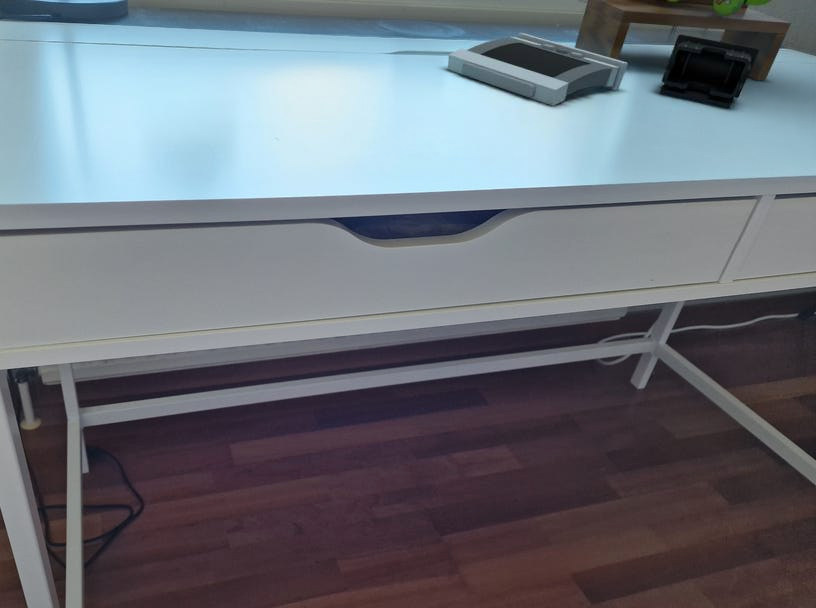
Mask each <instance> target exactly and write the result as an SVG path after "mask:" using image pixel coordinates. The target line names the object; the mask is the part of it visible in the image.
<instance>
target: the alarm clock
mask: <svg viewBox="0 0 816 608" xmlns="http://www.w3.org/2000/svg"><path fill="white" fill-rule="evenodd" d="M628 64H629V63H628V61H627V62H626V61H623V60H620V59H618V60H616V59H613V58H609V57H605V56H602V55H598V54H595V53H591V52H588V51H584V50H581V49H577V48H575V46H570V45H566V44H562V43H559V42H556V41H552V40H548V39H545V38H541V37H537V36H534V35H531V34H528V33H524V32H517V35H516V36H509V37H508V38H498V39H493V40H489V41H486V42H483V43H480V44H477V45H474V46H473V47H470V48H468V49H464V48H460V49H458V50H456V51H453V52H451V53H449V54H448V61H447V70H449V71H451V72H454V73H457V74H460V75H463V76H466V77H469V78H471V79H474V80H477V81H480V82H483V83H486V84H489V85H490V86H491V85H492V86H494V87H497V88H500V89H503V90H506V91H508V92H512V93H514V94H518V95H520V96H523V97H526V98H529V99H532V100H534V101H537V102H541V103H543V104H547V105H549V106H552V107H553V106H555V105H558V104H560V103H562V102H564V101H565V100H566V96H568V95H570V94H573V93H574V92H577V91H580V90H582V89H585V88H591V87H596V86H600V87H603V88H607V89H609V90H613V91H619V89H620V86H621V84H622V81H623V78H624V75H625V72H626V70H627V67H628Z"/></svg>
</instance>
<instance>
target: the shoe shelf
mask: <svg viewBox="0 0 816 608" xmlns="http://www.w3.org/2000/svg"><path fill="white" fill-rule="evenodd" d="M631 24H640V25H653V26H654V25H655V26H668V27H682V28H696V29H697V28H698V29H709V30H722V31H724V32H723V33H722V36H721V38H720V41H719V42H725V43H730V44H735V45H741V46H746V47H752V48H757V49H759V53H758V55H757V57H756V59H755V62H754V64H753V66H752V68H751V71H750V73H749V75H748V78H751V79H754V80H755V81H766V80H767V78H768V75H769V74H770V71H771V69H772V67H773V64H774V62H775V61H776V58H777V55H778V53H779V52H780V49H781V47H782V45H783V42H784V40H785V38H786V36H787V34H788V32H789V29H790V28H791V25H792V23H791V22H790V21H787V20H783V19H781V18H778V17H775V16H772V15H769V14H766V13H763V12H761V11H757V10H755V9H752V8H749V5H746V4H745V3H744V2H743V4H742V6H741V7H740V9H739V10H737V11H736V12H735V13H733V14H730V15H720V14H718V13H717V12H716V11H715V10H714V7H713V0H679V1H675V2H671V1H668V0H587V2H586V6H585V9H584V13H583V17H582V20H581V24H580V27H579V31H578V34H577V37H576V41H575V44H574V45H575V46H574V48H577V49H581V50H584V51H588V52H591V53H595V54H598V55H602V56H605V57H609V58H613V59H616V60H620V56H621V53H622V49H623V46H624V44H625V40H626V37H627V34H628V32H629V28H630V25H631Z"/></svg>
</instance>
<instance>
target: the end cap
mask: <svg viewBox="0 0 816 608" xmlns="http://www.w3.org/2000/svg"><path fill="white" fill-rule="evenodd" d="M758 53H759V49H757V48H752V47H746V46H741V45H735V44H730V43H725V42H720V41H719V40H714V39H708V38H702V37H698V36H697V37H695V36H691V35H687V34H679V35H677V37H676V40H675V43H674V45H673V48H672V51H671V53H670V56H669V59H668V62H667V64H666V67H665V70H664V73H663V75H662V78H661V82H662V83H663V84H662V86H661V87H660V89H659V94H660V95H663V96H667V97H673V98H676V99H681V100H686V101H690V102H696V103H700V104H704V105H709V106H714V107H718V108H723V109H731V108H732V105H733V102H734V100H735V99H739V98H740V96H741V94H742V91H743V89H744V87H745V84H746V82H747V79H748V78H749V76H748V75H749V73H750V71H751V68H752V66H753V64H754V62H755V59H756V57H757V55H758Z"/></svg>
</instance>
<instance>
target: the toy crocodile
mask: <svg viewBox="0 0 816 608" xmlns="http://www.w3.org/2000/svg"><path fill="white" fill-rule="evenodd" d="M668 1H671V2H675V1H679V0H668ZM743 2H744V3H745V4H746V5H748V6H753V7H754V6H755V7H759V6H763V5H767V4H769V3H770V2H772V0H713V7H714V10H715V11H716V12H717V13H718V14H720V15H730V14H733V13H735V12H736V11H737V10H739V9H740V7H741V6H742V4H743Z"/></svg>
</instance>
